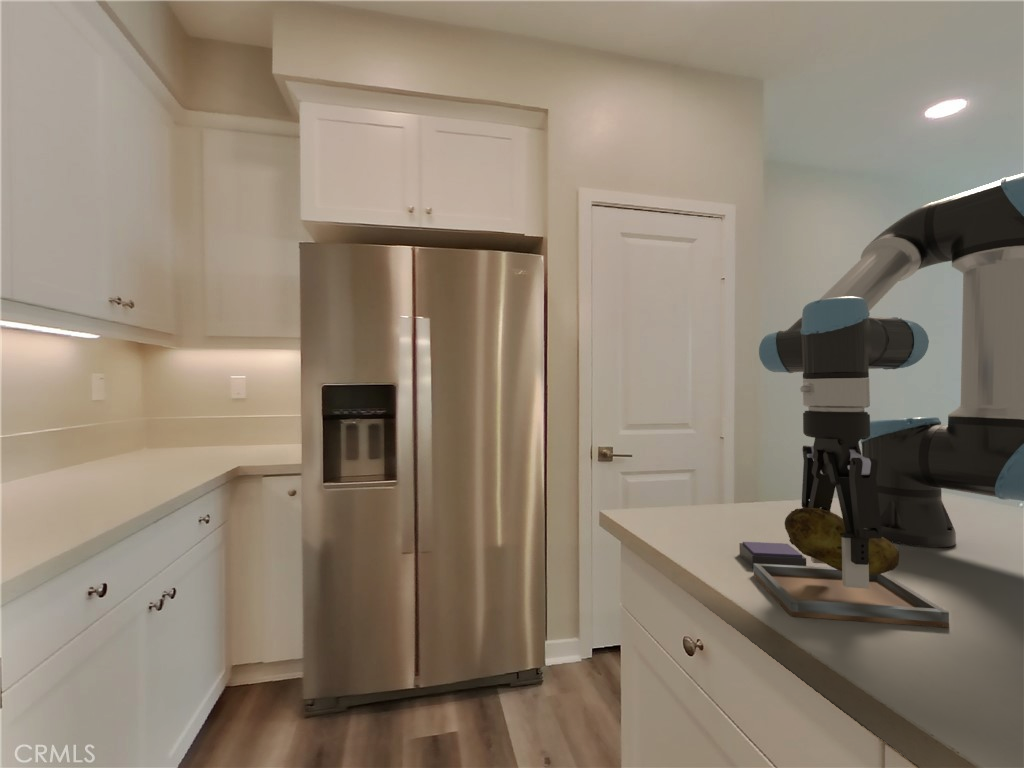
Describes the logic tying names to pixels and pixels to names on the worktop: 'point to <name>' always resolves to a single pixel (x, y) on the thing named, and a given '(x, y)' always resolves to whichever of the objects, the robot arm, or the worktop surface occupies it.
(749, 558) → the ink pad
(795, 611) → the metal baking tray
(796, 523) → the potato
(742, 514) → the worktop surface
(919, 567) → the worktop surface
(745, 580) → the worktop surface
